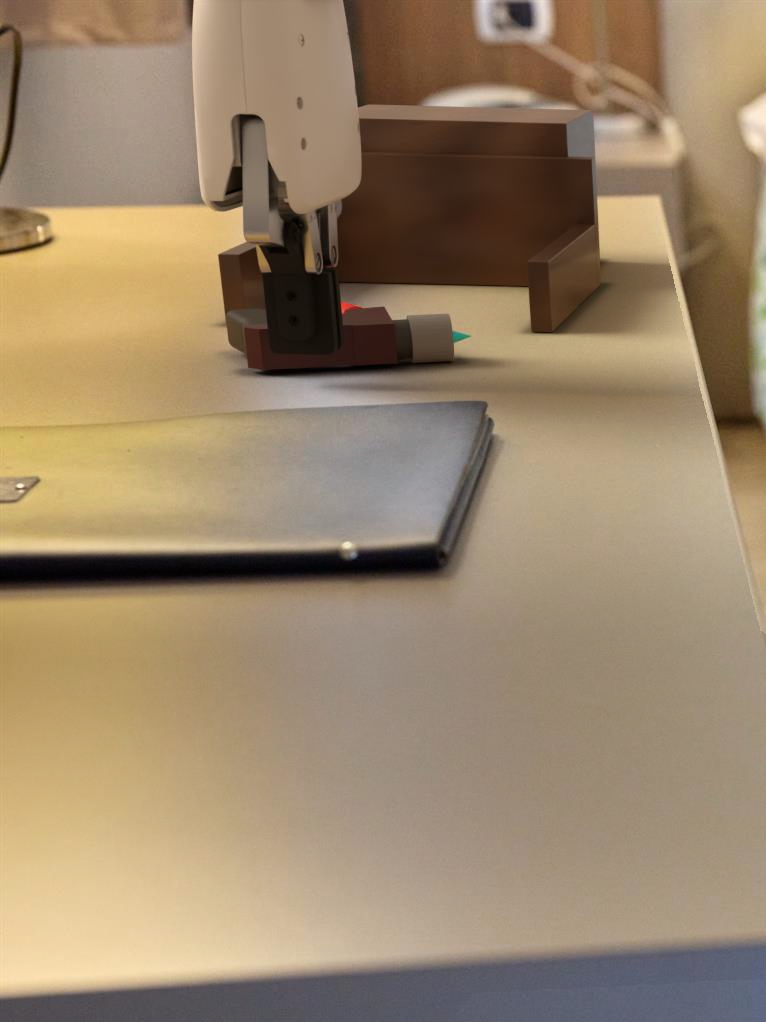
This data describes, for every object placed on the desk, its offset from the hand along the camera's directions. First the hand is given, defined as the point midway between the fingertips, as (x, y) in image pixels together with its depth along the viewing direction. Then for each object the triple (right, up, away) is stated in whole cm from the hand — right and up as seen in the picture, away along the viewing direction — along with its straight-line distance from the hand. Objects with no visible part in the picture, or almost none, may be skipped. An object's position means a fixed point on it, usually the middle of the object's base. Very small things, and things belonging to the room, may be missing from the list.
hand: (307, 350), depth 97 cm
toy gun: (0, +1, +7) cm, 8 cm away
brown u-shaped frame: (0, +8, +25) cm, 27 cm away
